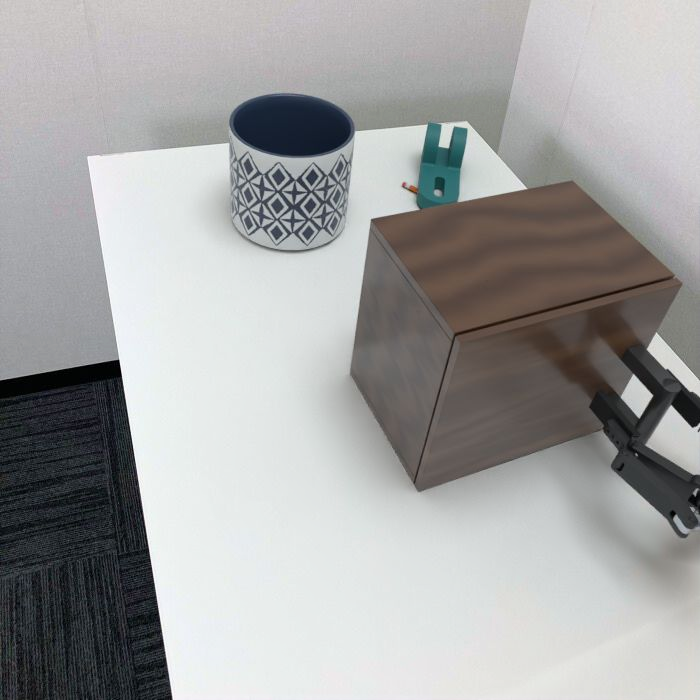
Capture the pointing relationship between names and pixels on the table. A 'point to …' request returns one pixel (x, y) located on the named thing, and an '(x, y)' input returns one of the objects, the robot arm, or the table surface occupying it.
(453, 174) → the bracket
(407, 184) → the pencil
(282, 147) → the planter
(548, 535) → the table surface
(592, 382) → the door
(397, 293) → the cupboard
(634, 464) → the robot arm
